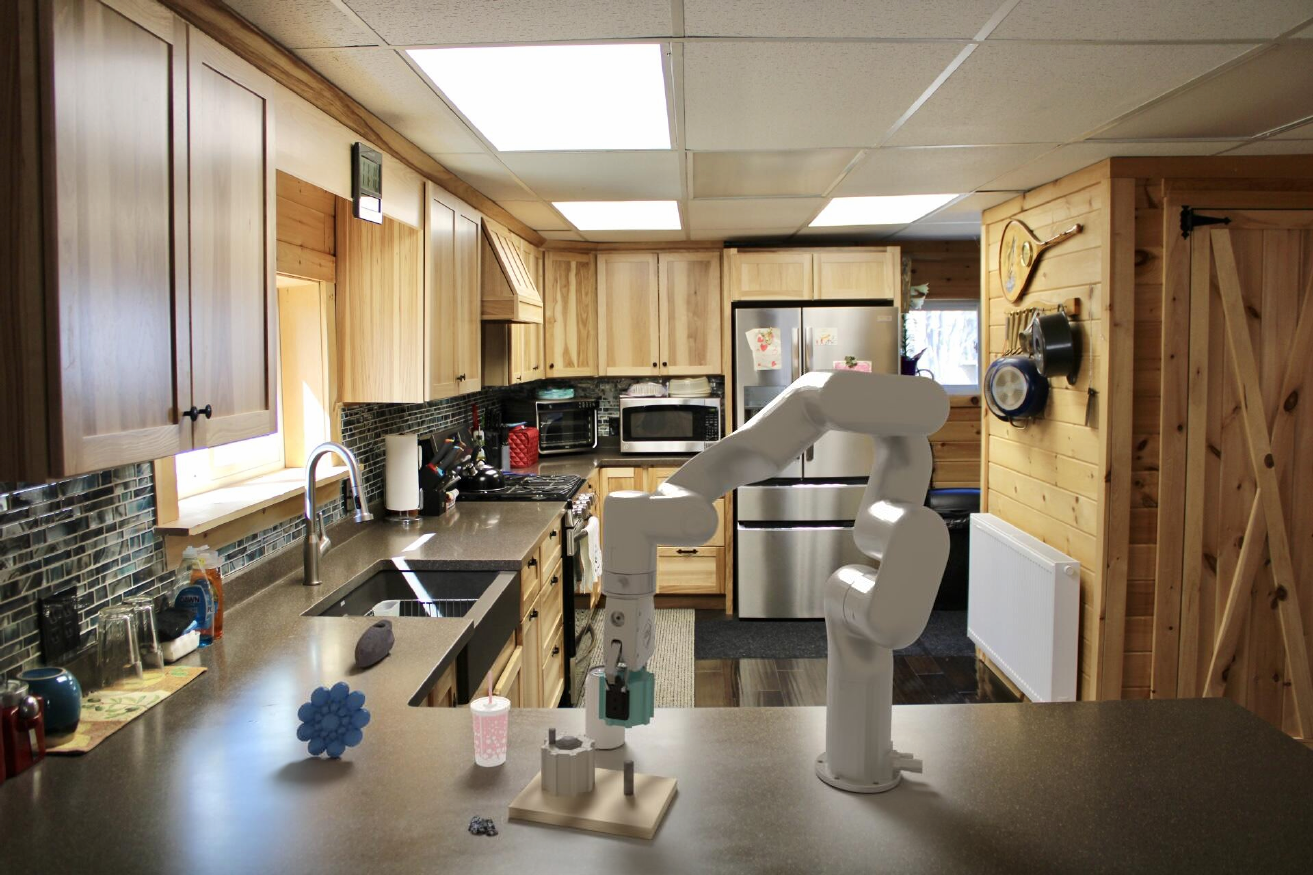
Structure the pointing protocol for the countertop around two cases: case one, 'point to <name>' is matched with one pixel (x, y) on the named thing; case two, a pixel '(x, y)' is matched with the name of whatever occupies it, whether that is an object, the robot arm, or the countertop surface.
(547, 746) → the gear
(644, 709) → the teal gear
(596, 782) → the board
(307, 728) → the blue flower ornament
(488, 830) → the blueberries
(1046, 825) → the countertop surface
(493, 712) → the beverage cup
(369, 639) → the perforated stone tool
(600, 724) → the can
